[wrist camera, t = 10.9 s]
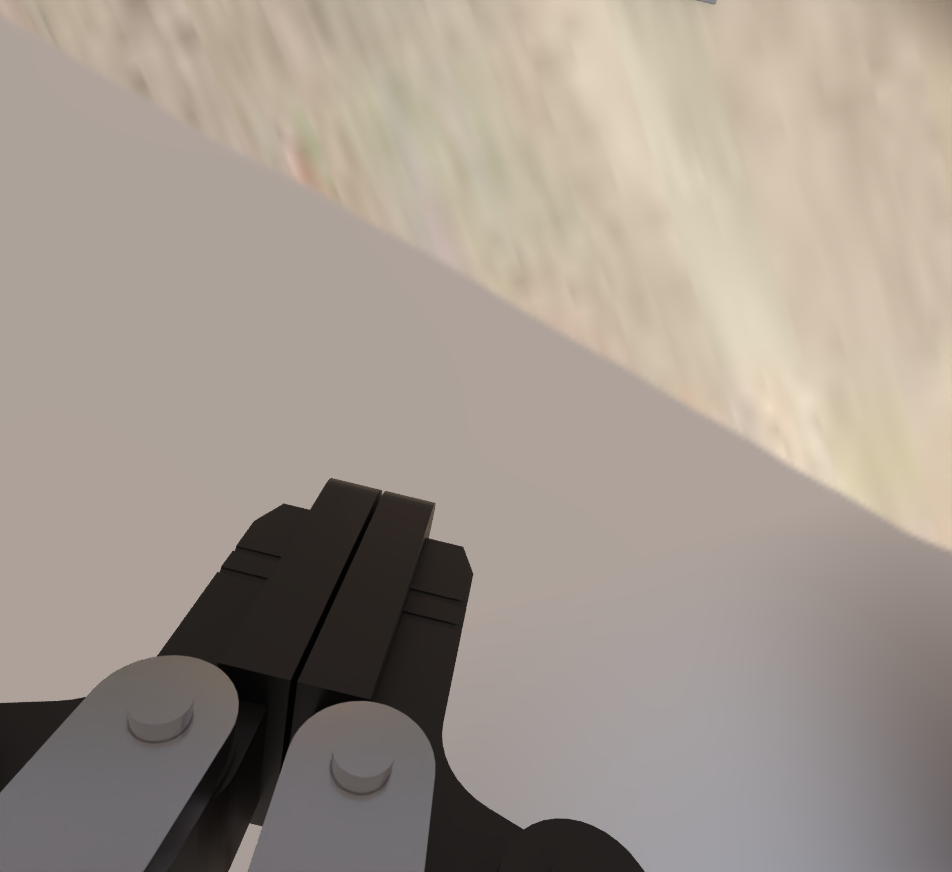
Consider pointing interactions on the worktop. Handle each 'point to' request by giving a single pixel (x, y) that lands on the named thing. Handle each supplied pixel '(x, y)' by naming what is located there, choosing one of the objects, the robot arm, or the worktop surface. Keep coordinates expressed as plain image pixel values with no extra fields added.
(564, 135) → the worktop surface
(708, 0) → the mat
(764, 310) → the worktop surface
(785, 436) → the worktop surface
